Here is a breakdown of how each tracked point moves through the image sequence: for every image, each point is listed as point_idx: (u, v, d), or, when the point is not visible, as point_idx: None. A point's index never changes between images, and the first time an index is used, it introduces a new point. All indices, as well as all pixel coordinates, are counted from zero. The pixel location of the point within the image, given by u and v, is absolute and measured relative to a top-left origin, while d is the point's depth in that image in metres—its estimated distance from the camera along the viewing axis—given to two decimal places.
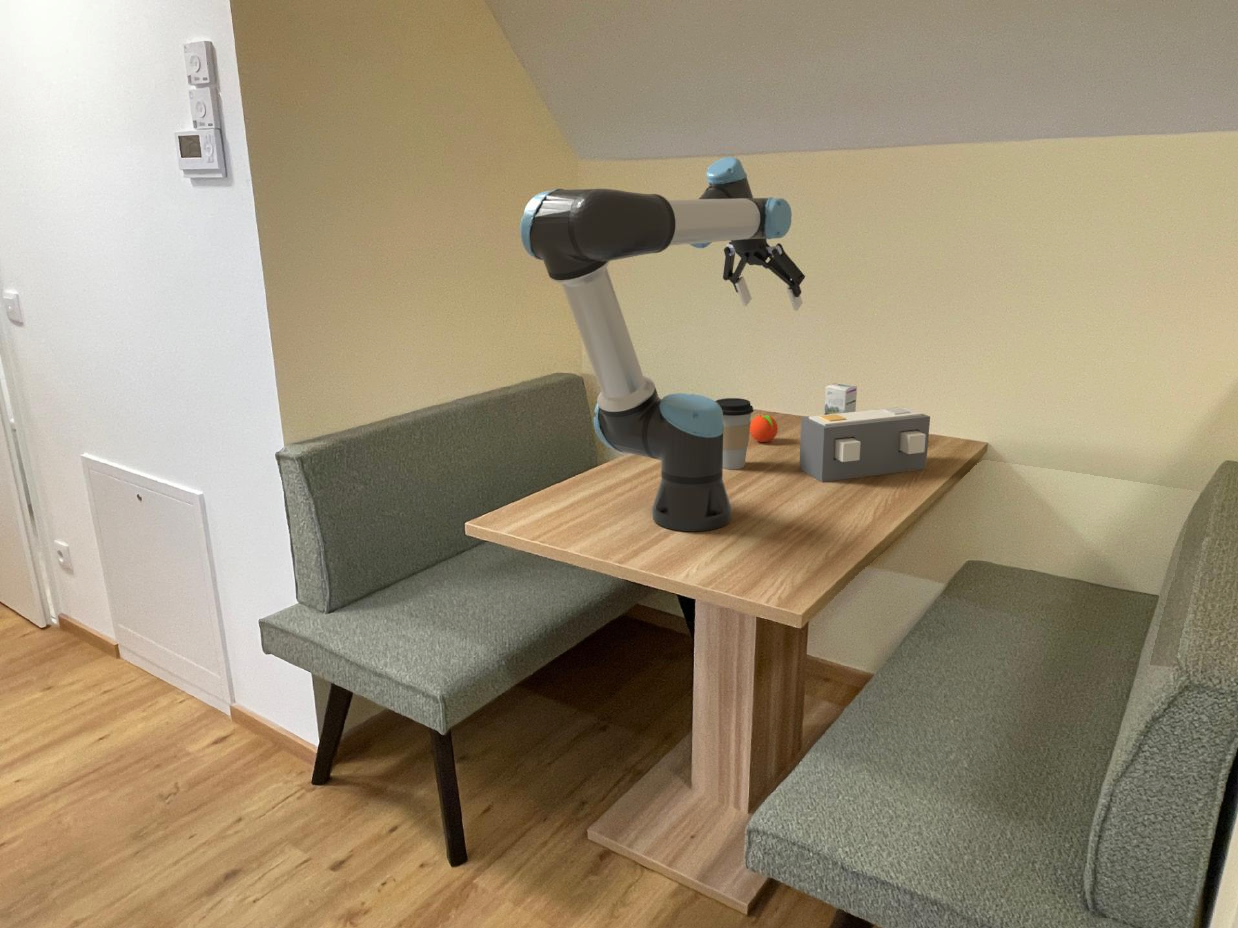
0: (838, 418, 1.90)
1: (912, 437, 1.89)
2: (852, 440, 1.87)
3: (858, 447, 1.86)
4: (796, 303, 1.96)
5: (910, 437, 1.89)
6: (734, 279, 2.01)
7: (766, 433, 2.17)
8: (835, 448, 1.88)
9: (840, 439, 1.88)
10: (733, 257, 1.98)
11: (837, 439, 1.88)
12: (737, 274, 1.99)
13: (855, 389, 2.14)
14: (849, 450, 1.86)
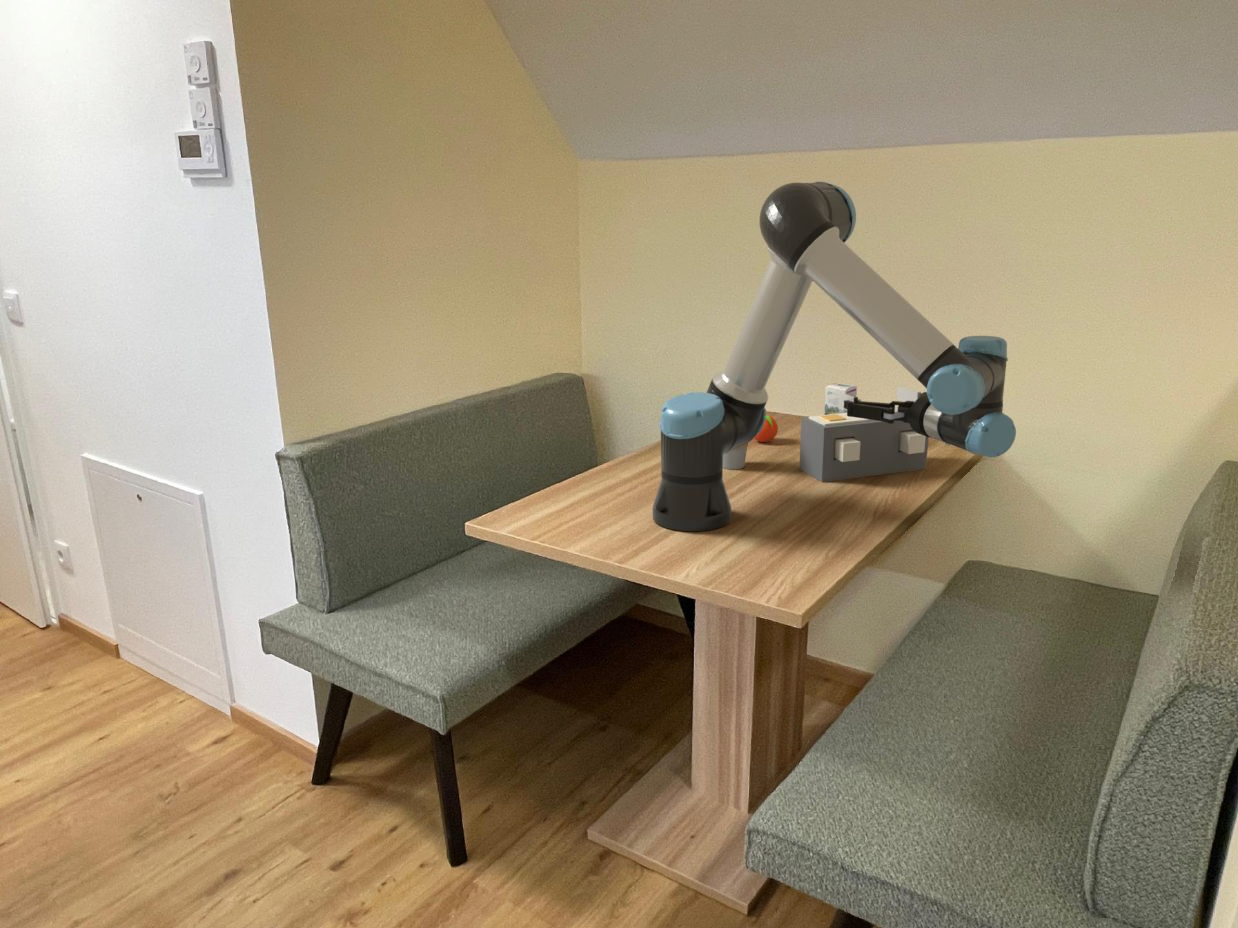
0: (838, 418, 1.90)
1: (912, 437, 1.89)
2: (852, 440, 1.87)
3: (858, 447, 1.86)
4: (843, 398, 1.73)
5: (910, 437, 1.89)
6: (923, 394, 1.71)
7: (766, 433, 2.17)
8: (835, 448, 1.88)
9: (840, 439, 1.88)
10: None
11: (837, 439, 1.88)
12: (922, 396, 1.70)
13: (855, 389, 2.14)
14: (849, 450, 1.86)
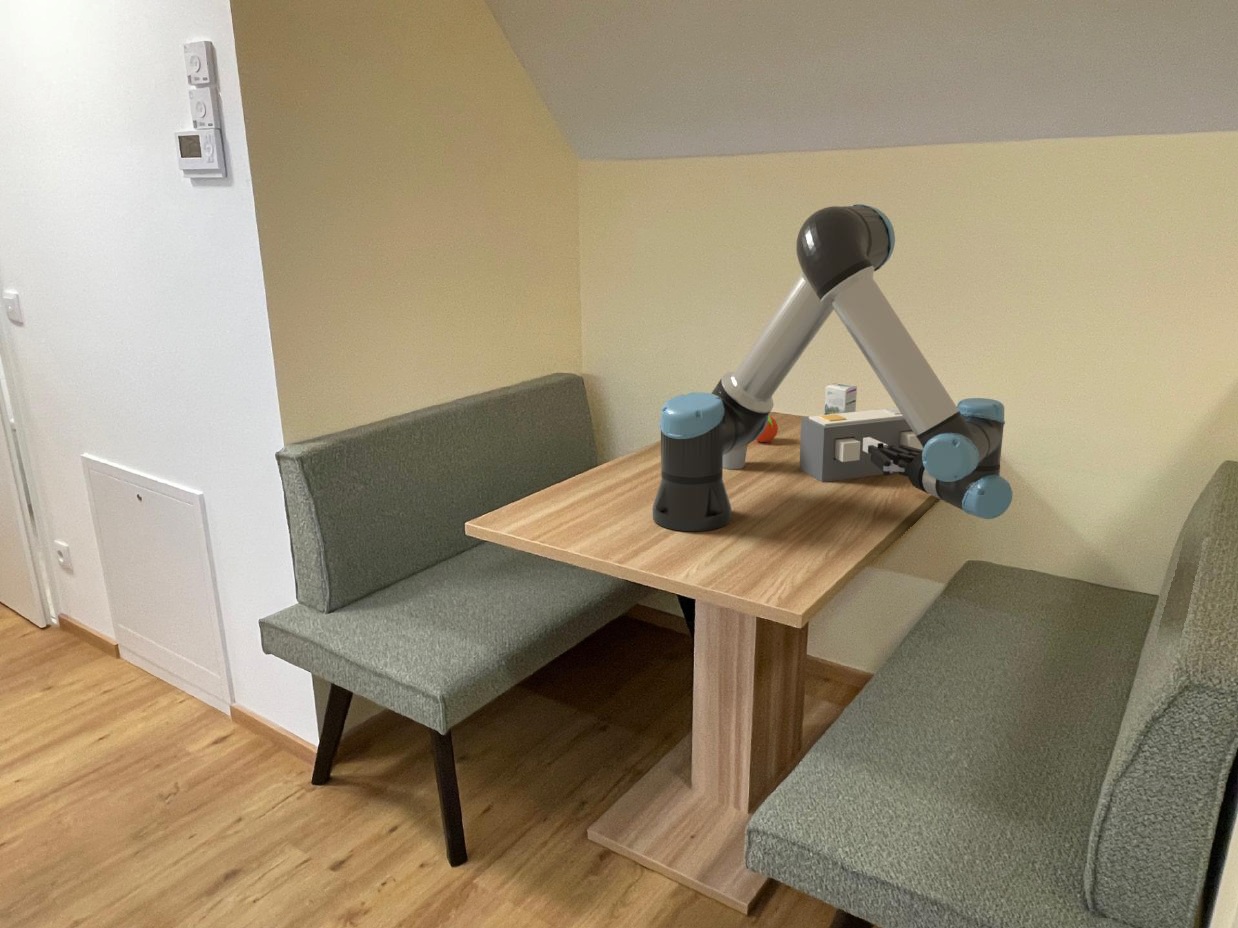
0: (838, 418, 1.90)
1: (912, 437, 1.89)
2: (852, 440, 1.87)
3: (858, 447, 1.86)
4: (867, 442, 1.79)
5: (910, 437, 1.89)
6: (893, 447, 1.73)
7: (766, 433, 2.17)
8: (835, 448, 1.88)
9: (840, 439, 1.88)
10: None
11: (837, 439, 1.88)
12: (899, 449, 1.71)
13: (855, 389, 2.14)
14: (849, 450, 1.86)
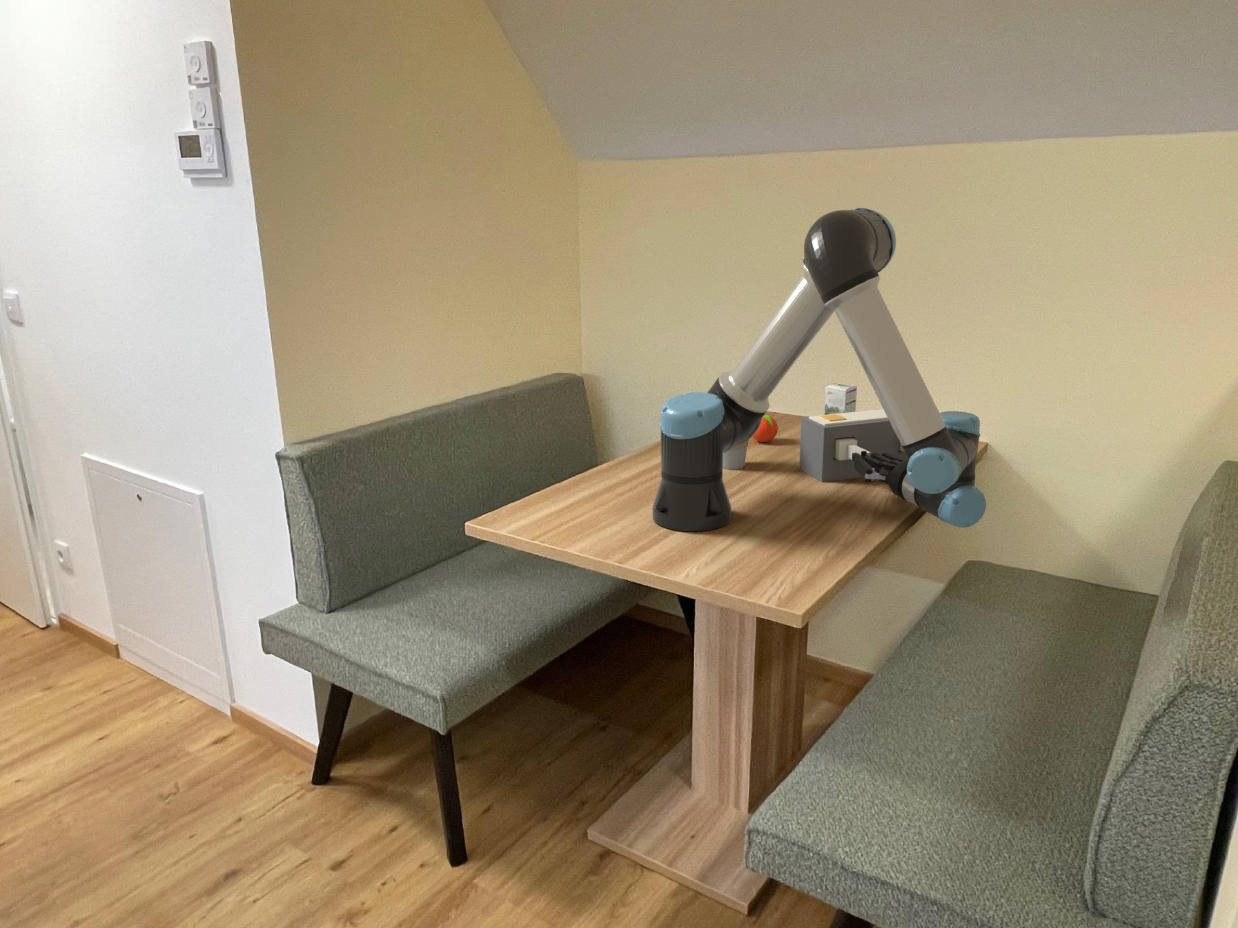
0: (838, 418, 1.90)
1: None
2: (849, 439, 1.88)
3: None
4: (851, 450, 1.85)
5: None
6: (876, 455, 1.79)
7: (766, 433, 2.17)
8: None
9: (837, 438, 1.89)
10: None
11: None
12: (881, 457, 1.77)
13: (855, 389, 2.14)
14: (846, 449, 1.87)
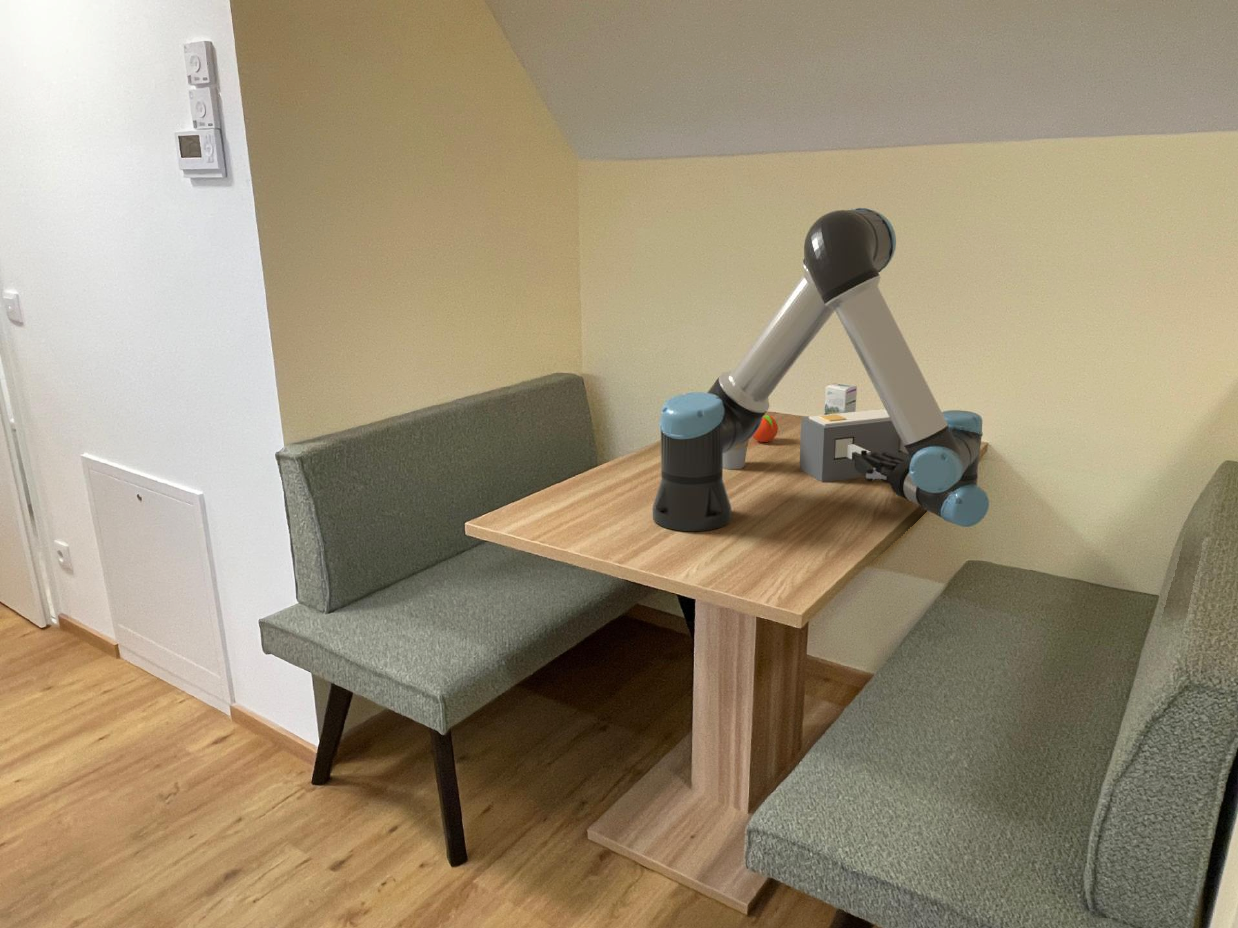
0: (838, 418, 1.90)
1: None
2: None
3: None
4: (851, 449, 1.85)
5: None
6: (876, 454, 1.79)
7: (766, 433, 2.17)
8: None
9: None
10: None
11: None
12: (882, 457, 1.77)
13: (855, 389, 2.14)
14: (842, 447, 1.88)
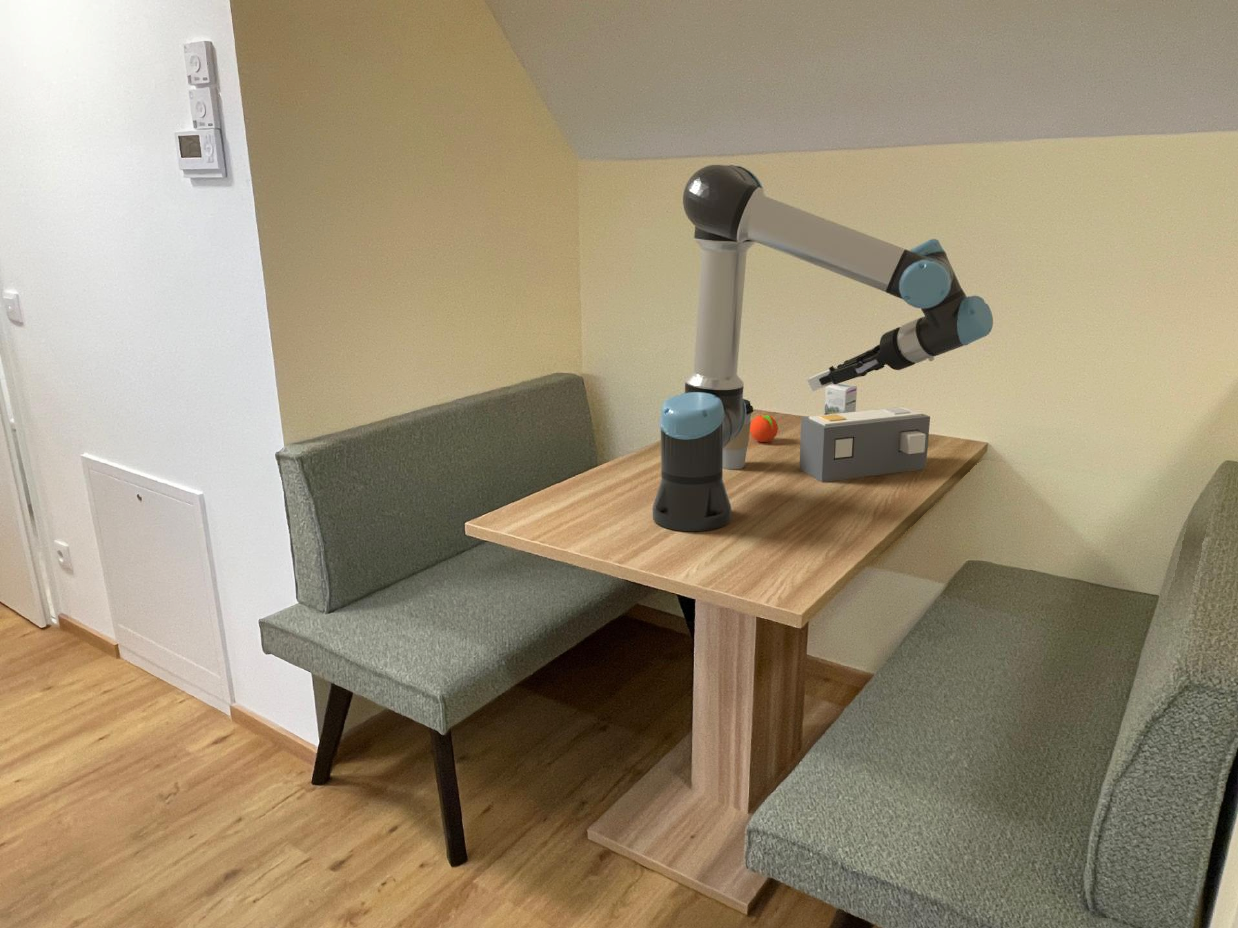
0: (838, 418, 1.90)
1: (912, 437, 1.89)
2: None
3: (850, 444, 1.89)
4: (814, 380, 1.80)
5: (910, 437, 1.89)
6: (842, 364, 1.76)
7: (766, 433, 2.17)
8: None
9: None
10: None
11: None
12: (850, 361, 1.74)
13: (855, 389, 2.14)
14: (842, 447, 1.88)
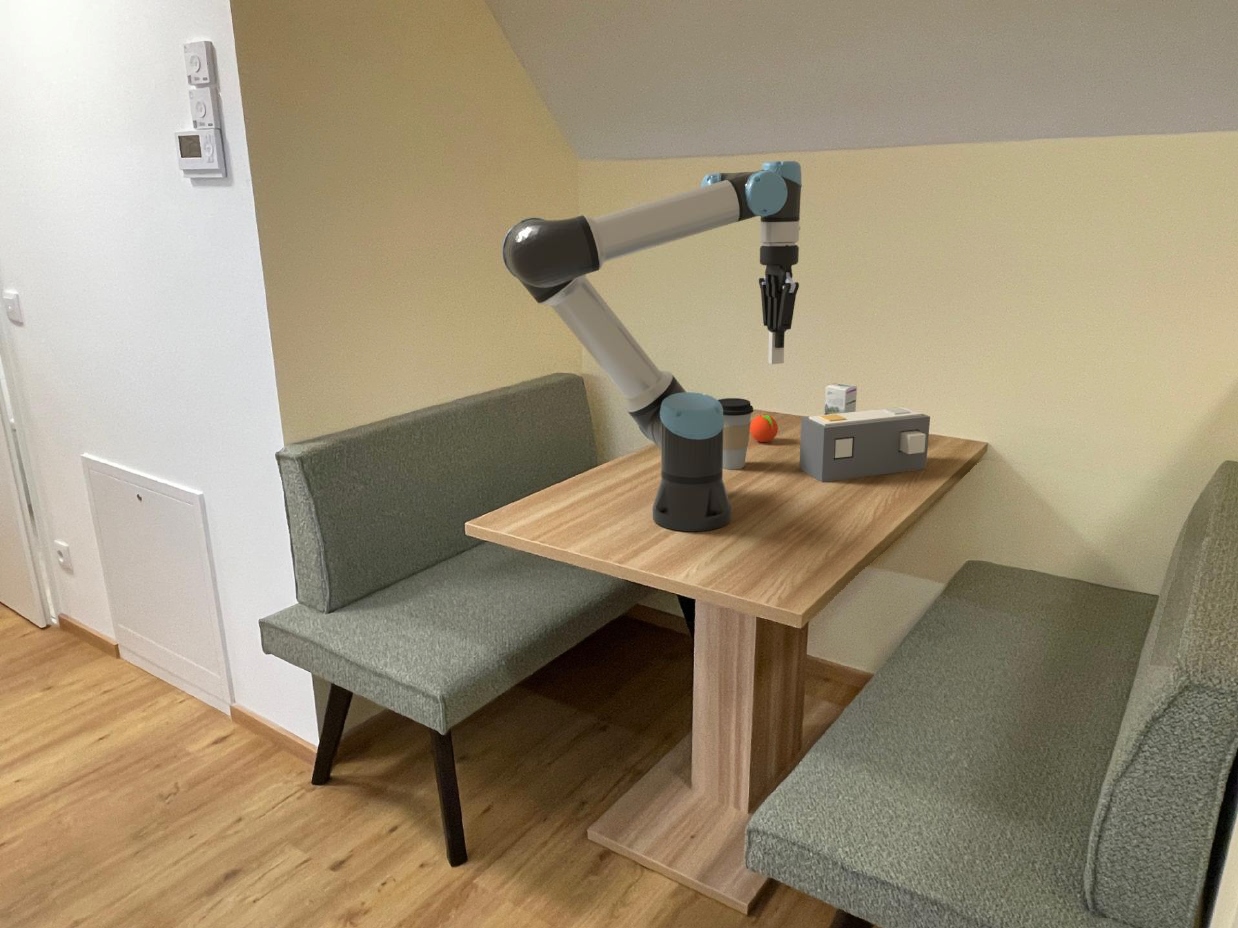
0: (838, 418, 1.90)
1: (912, 437, 1.89)
2: None
3: (850, 444, 1.89)
4: (774, 356, 1.79)
5: (910, 437, 1.89)
6: (769, 323, 1.78)
7: (766, 433, 2.16)
8: None
9: None
10: None
11: None
12: (769, 313, 1.78)
13: (855, 389, 2.14)
14: (842, 447, 1.88)
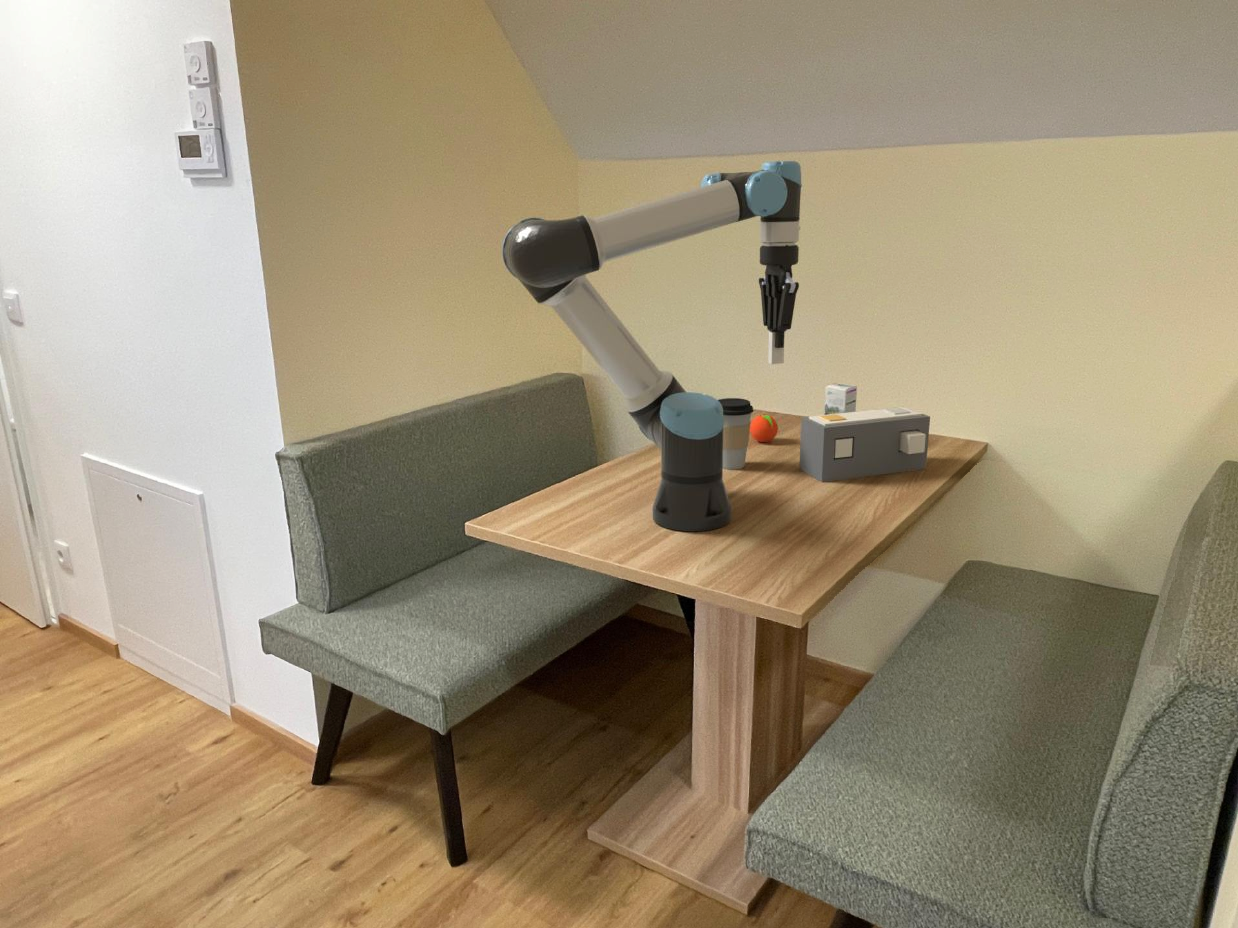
0: (838, 418, 1.90)
1: (912, 437, 1.89)
2: None
3: (850, 444, 1.89)
4: (774, 356, 1.79)
5: (910, 437, 1.89)
6: (769, 323, 1.78)
7: (766, 433, 2.17)
8: None
9: None
10: None
11: None
12: (769, 312, 1.78)
13: (855, 389, 2.14)
14: (842, 447, 1.88)
